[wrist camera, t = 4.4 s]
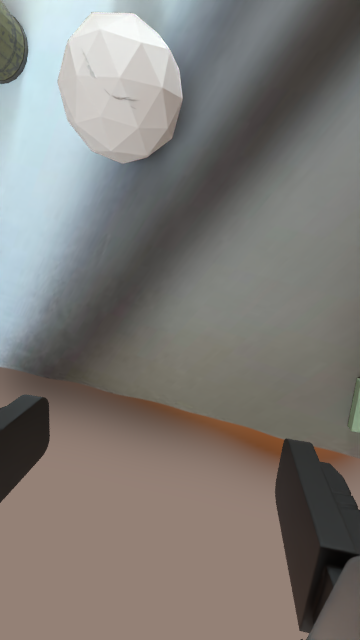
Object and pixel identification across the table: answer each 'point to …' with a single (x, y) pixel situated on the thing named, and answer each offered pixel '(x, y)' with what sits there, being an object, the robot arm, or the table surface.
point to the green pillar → (355, 409)
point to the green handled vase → (11, 46)
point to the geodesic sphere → (120, 86)
